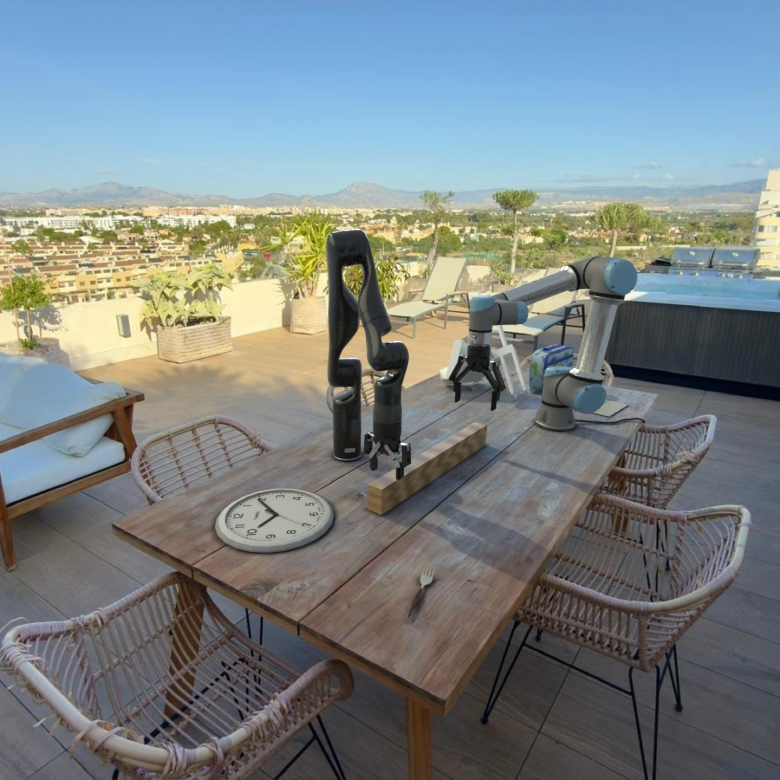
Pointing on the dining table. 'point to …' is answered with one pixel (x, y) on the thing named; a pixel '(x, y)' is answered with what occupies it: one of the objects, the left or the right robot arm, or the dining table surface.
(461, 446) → the post
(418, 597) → the fork
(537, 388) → the lunch box
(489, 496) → the dining table surface
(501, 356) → the white plastic object
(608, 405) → the invitation card
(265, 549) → the wall clock
